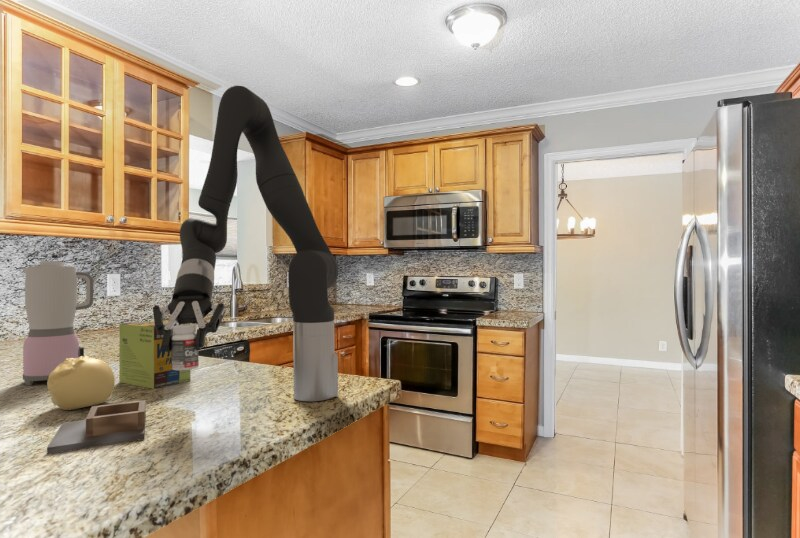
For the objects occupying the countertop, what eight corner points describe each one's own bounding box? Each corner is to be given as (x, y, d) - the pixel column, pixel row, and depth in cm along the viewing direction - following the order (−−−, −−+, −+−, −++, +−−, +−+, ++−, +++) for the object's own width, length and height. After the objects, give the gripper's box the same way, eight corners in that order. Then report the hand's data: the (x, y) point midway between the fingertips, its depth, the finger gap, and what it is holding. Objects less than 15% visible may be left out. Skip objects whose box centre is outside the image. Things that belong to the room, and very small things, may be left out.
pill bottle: (188, 371, 88) (187, 326, 88) (166, 370, 89) (165, 327, 89) (203, 365, 93) (202, 323, 93) (182, 365, 94) (181, 324, 94)
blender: (19, 388, 117) (19, 260, 117) (24, 379, 127) (24, 262, 127) (94, 379, 126) (93, 261, 126) (93, 371, 136) (93, 262, 136)
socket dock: (145, 417, 92) (145, 396, 92) (144, 439, 79) (144, 415, 79) (62, 428, 86) (62, 406, 86) (47, 454, 73) (47, 428, 73)
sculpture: (56, 402, 103) (56, 353, 103) (119, 396, 108) (118, 350, 108) (38, 417, 93) (38, 363, 93) (108, 410, 97) (108, 358, 97)
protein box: (154, 389, 114) (153, 326, 114) (118, 382, 122) (118, 323, 122) (191, 380, 123) (191, 322, 124) (156, 375, 131) (156, 319, 131)
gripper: (154, 273, 97) (136, 338, 85) (227, 271, 100) (219, 334, 88) (162, 297, 102) (146, 362, 90) (231, 294, 105) (224, 357, 93)
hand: (182, 348), depth 89 cm, fingers closed on pill bottle, 4 cm apart
